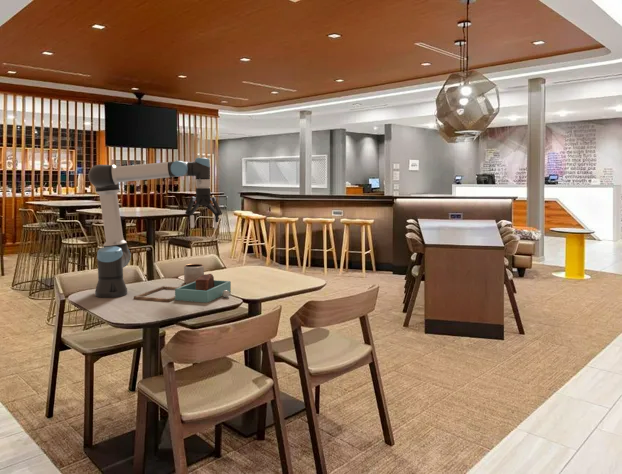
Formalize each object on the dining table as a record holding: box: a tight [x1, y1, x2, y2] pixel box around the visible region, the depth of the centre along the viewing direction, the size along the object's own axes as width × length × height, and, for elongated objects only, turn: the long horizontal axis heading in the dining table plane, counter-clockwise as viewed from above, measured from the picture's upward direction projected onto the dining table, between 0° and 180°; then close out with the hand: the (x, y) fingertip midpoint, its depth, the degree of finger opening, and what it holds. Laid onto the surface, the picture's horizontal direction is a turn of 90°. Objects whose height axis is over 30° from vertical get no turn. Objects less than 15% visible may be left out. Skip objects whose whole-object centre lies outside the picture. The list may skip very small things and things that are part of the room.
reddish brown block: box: [196, 273, 215, 291], centre depth 263 cm, size 18×6×9 cm, turn 0°
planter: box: [183, 263, 205, 285], centre depth 294 cm, size 11×11×10 cm
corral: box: [133, 285, 180, 303], centre depth 264 cm, size 19×25×1 cm
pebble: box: [222, 290, 231, 298], centre depth 259 cm, size 4×4×4 cm
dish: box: [174, 279, 232, 303], centre depth 262 cm, size 17×25×5 cm
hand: (203, 228), depth 278 cm, fingers open, 13 cm apart
